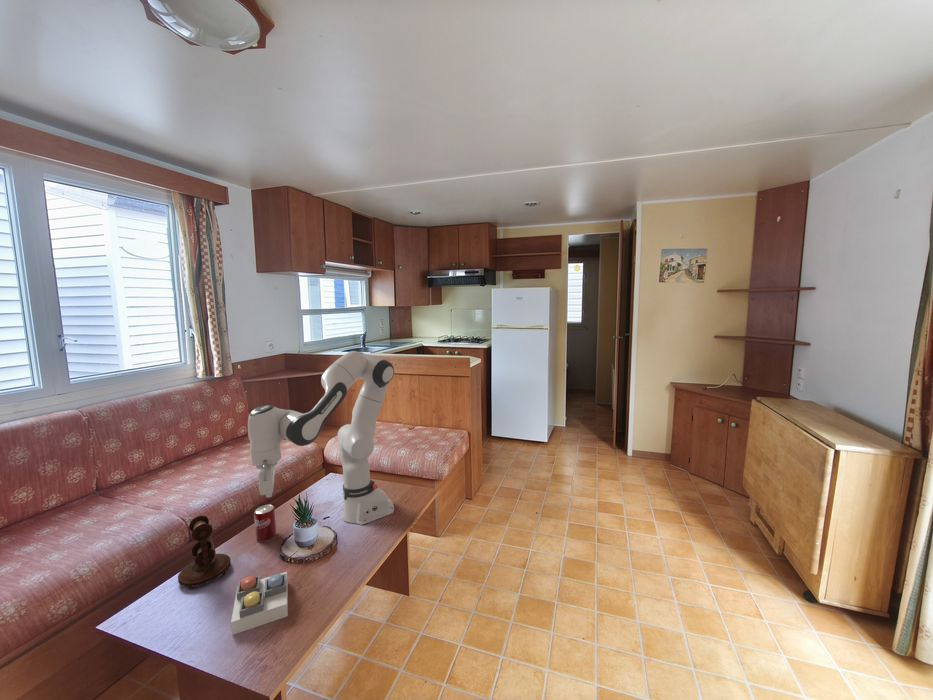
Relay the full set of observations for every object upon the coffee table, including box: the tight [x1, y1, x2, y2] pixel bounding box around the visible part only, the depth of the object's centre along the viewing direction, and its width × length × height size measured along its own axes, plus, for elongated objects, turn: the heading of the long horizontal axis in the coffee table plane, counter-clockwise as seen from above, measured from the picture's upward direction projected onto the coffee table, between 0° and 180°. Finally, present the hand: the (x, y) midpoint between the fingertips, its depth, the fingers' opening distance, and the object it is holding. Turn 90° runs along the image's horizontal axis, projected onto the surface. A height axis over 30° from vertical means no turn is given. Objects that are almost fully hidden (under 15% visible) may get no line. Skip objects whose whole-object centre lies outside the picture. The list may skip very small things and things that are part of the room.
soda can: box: [253, 504, 278, 543], centre depth 147 cm, size 7×7×12 cm
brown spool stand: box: [177, 515, 232, 590], centre depth 126 cm, size 15×15×20 cm
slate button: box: [268, 573, 283, 590], centre depth 115 cm, size 4×4×3 cm
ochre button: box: [244, 591, 260, 609], centre depth 107 cm, size 4×4×3 cm
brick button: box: [240, 575, 256, 591], centre depth 114 cm, size 4×4×3 cm
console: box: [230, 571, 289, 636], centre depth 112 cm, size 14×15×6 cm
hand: (269, 495), depth 123 cm, fingers closed
